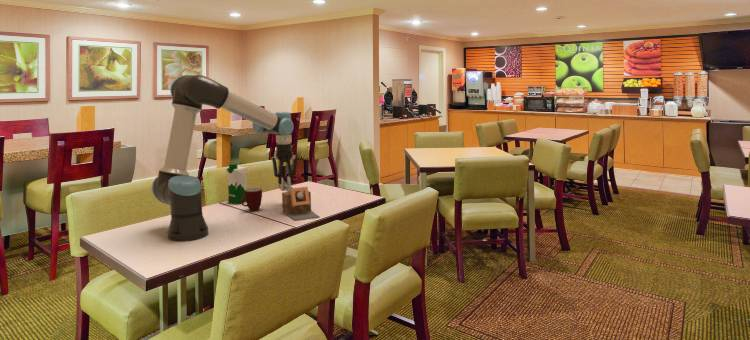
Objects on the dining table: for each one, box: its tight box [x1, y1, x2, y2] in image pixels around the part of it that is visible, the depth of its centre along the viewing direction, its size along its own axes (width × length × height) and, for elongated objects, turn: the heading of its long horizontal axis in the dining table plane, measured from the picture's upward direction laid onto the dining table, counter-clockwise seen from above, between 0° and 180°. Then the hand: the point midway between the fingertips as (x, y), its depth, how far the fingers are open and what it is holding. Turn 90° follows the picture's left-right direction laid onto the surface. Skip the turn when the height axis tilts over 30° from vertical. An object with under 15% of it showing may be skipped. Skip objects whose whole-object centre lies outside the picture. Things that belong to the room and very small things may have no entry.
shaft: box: [278, 180, 304, 199], centre depth 228 cm, size 26×5×5 cm, turn 29°
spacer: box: [289, 186, 310, 206], centre depth 219 cm, size 8×2×8 cm, turn 118°
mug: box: [241, 187, 263, 212], centre depth 226 cm, size 11×8×10 cm
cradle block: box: [281, 190, 312, 216], centre depth 223 cm, size 12×6×10 cm, turn 118°
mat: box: [286, 210, 321, 222], centre depth 217 cm, size 12×11×1 cm
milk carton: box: [225, 163, 248, 205], centre depth 241 cm, size 9×9×20 cm
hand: (285, 189), depth 237 cm, fingers closed on shaft, 3 cm apart
